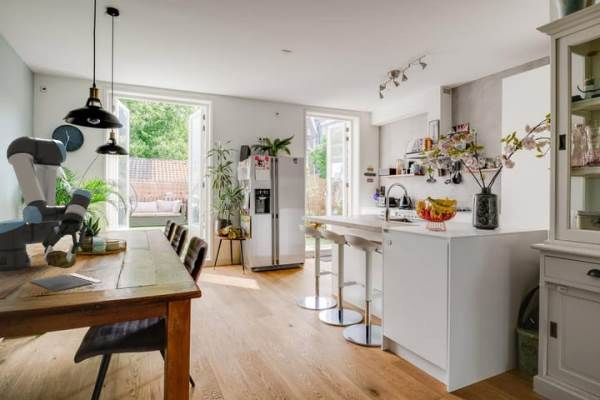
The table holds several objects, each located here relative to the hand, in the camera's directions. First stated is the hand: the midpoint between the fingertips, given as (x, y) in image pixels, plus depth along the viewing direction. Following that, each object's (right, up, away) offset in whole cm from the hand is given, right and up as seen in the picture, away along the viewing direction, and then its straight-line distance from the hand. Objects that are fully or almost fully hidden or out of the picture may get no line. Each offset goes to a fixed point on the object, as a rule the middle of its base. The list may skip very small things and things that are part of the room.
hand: (56, 260), depth 139 cm
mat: (-1, -10, +4) cm, 11 cm away
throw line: (+4, -10, +12) cm, 16 cm away
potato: (0, -4, +4) cm, 6 cm away
